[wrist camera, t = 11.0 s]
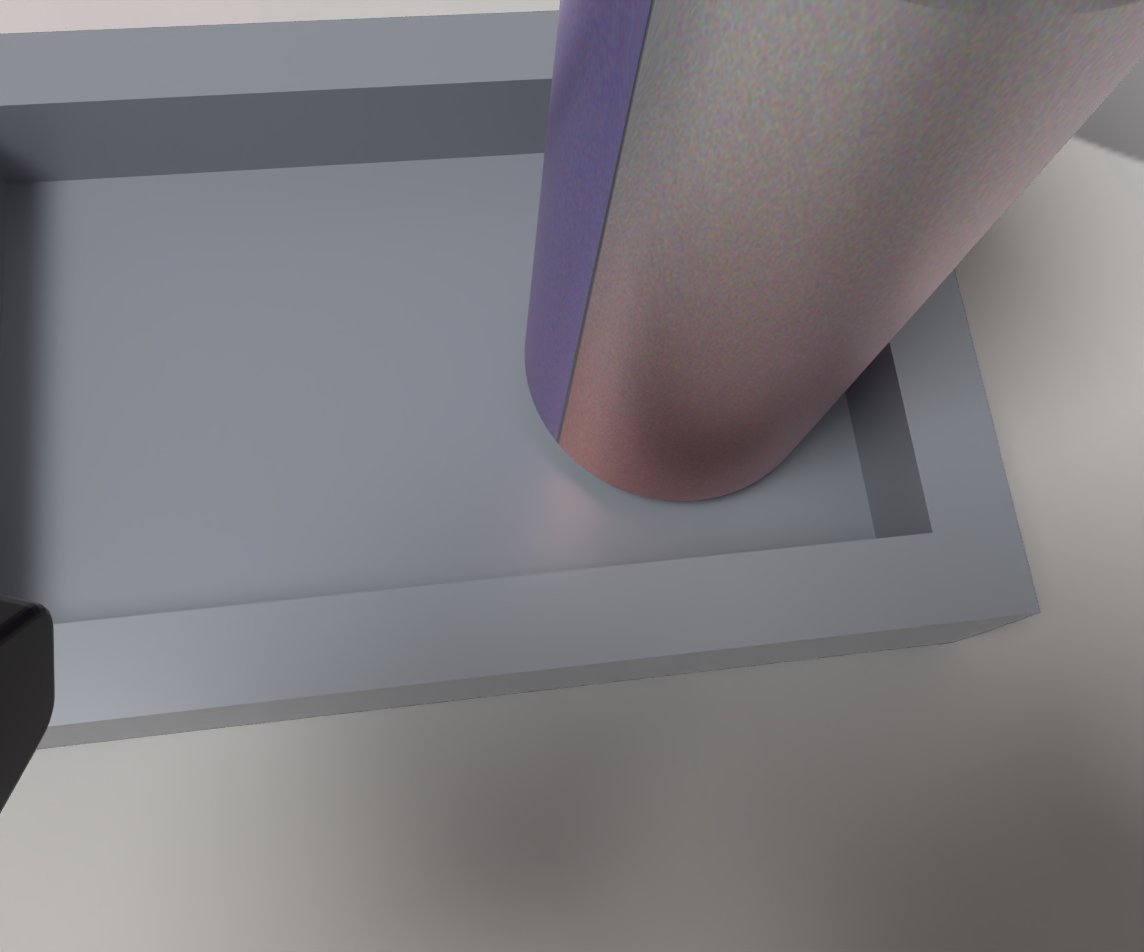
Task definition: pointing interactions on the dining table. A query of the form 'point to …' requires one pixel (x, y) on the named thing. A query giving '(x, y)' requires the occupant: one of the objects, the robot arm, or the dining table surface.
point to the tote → (395, 404)
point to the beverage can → (775, 205)
